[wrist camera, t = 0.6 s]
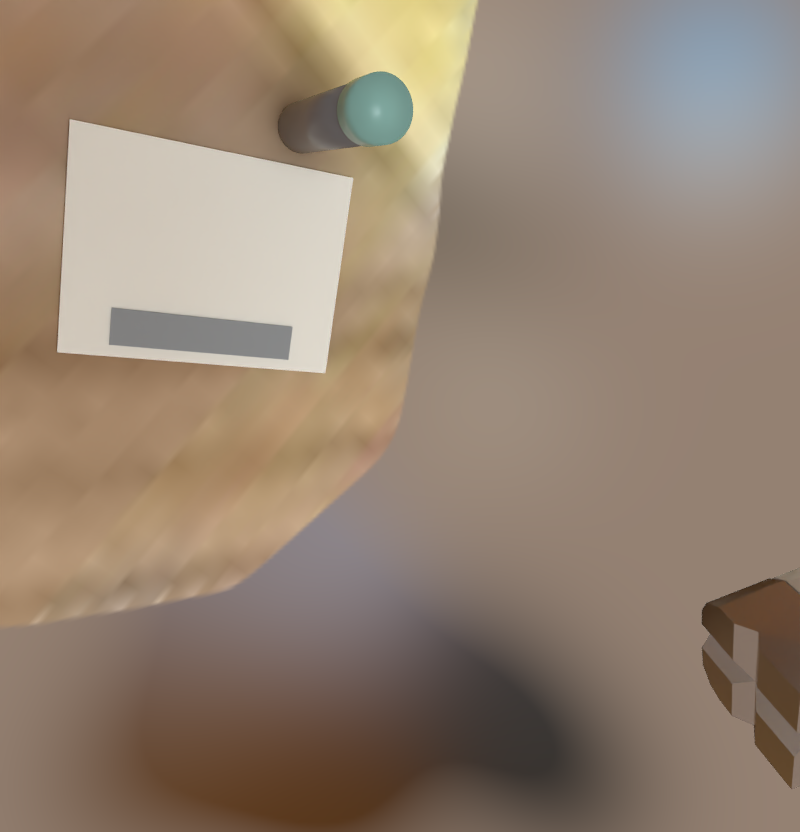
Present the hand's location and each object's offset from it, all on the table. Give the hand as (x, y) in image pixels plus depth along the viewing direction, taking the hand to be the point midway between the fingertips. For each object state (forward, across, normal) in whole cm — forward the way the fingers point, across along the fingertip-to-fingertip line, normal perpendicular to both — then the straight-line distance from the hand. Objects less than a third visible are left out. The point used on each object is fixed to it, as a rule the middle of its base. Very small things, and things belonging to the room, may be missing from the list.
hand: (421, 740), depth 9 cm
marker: (+46, -5, -2) cm, 46 cm away
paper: (+43, +3, +4) cm, 44 cm away
